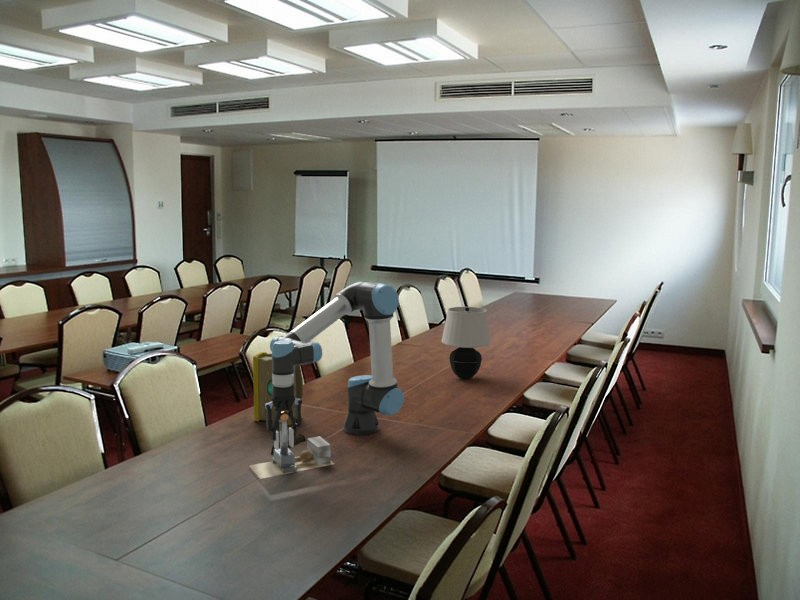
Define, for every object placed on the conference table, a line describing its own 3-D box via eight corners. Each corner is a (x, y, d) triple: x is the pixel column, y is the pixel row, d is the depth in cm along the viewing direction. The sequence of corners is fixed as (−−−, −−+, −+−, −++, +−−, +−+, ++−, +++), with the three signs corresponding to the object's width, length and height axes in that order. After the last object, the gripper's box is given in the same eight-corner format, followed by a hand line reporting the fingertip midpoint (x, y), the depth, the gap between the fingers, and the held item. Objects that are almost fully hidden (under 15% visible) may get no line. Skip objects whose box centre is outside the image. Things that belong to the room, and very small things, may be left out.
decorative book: (251, 421, 292) (250, 354, 288) (262, 413, 303) (261, 349, 299) (294, 425, 288) (294, 358, 284) (304, 417, 299) (304, 352, 294)
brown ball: (309, 459, 248) (309, 447, 247) (313, 463, 244) (313, 451, 243) (297, 461, 246) (297, 449, 245) (302, 465, 242) (302, 453, 241)
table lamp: (464, 370, 386) (467, 301, 380) (499, 380, 366) (502, 308, 360) (430, 377, 369) (431, 306, 363) (465, 388, 349) (467, 313, 343)
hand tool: (298, 442, 270) (298, 431, 269) (306, 443, 268) (305, 432, 267) (265, 457, 254) (265, 445, 253) (273, 459, 252) (273, 447, 251)
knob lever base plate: (320, 455, 255) (320, 434, 254) (334, 467, 244) (334, 445, 242) (248, 469, 241) (248, 447, 240) (260, 482, 230) (259, 459, 229)
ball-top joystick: (284, 458, 247) (284, 405, 244) (296, 470, 237) (296, 415, 234) (271, 460, 245) (271, 407, 242) (283, 472, 234) (282, 417, 231)
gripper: (303, 378, 244) (303, 439, 247) (255, 385, 235) (256, 448, 238) (310, 383, 237) (311, 446, 241) (262, 390, 228) (263, 455, 232)
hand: (283, 447), depth 240 cm, fingers open, 5 cm apart
